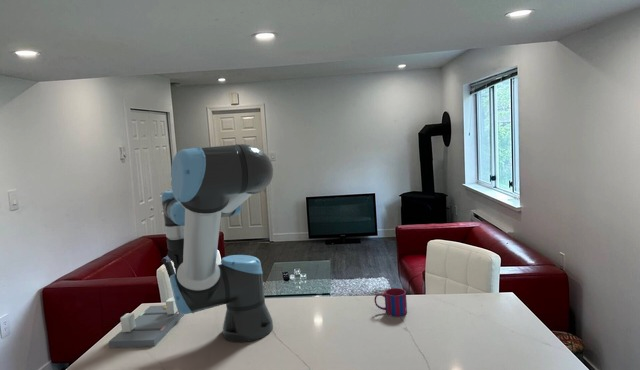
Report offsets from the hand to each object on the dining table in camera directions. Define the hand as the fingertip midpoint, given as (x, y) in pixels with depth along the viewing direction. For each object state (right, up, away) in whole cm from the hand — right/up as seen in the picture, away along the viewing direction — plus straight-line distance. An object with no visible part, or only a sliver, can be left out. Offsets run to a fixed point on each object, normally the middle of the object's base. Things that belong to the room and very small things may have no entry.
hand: (186, 304), depth 142 cm
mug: (+68, 0, -8) cm, 68 cm away
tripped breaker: (-5, -3, 0) cm, 5 cm away
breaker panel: (-9, -6, -5) cm, 12 cm away
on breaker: (-14, -5, -11) cm, 19 cm away
